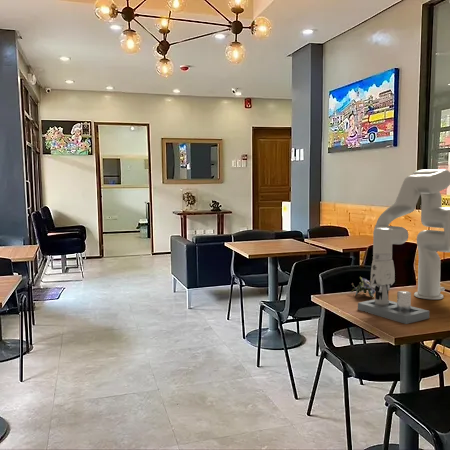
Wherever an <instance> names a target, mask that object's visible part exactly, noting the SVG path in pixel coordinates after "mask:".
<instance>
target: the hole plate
mask: <svg viewBox="0 0 450 450" xmlns="http://www.w3.org/2000/svg"><path fill="white" fill-rule="evenodd" d="M357 310H359V311H361V312H364V311H365V313H367V312H368V313H367V314H372V315H375V316H376V317H377V316H378V317H381V318H385V319H388V320H391V321H394V322H398V323H401V324H405V325H408V324H413V323H416V322H421V321H424V320H429V319H430V310H427V309H423V308H420V307H416V306H412V305H411V313H406V314H405V313H402V312H398V311H397V301H392V300H389V304H388V306H386V307H380V306H376V304H375V298H373V299H370V300H365V301H361V302H357Z"/></svg>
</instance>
